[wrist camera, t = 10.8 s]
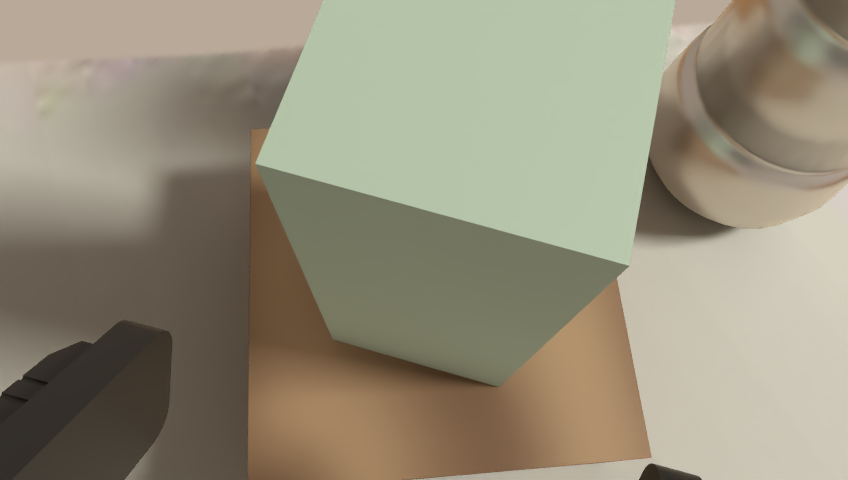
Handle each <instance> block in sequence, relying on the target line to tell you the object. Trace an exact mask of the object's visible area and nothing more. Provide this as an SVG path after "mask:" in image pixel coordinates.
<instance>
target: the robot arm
mask: <svg viewBox="0 0 848 480" xmlns="http://www.w3.org/2000/svg"><path fill="white" fill-rule="evenodd" d="M171 355H172V337H171V334H170V333H169V332H168V331H164V330H161V329H157V328H153V327H149V326H146V325H142V324H138V323H135V322H131V321H127V320H123V321H120V322H119V323H117V324H116V325H115V326H114V327H112V328H111V329H110V330H109V331H108V332H107V333H105V334H104V335H103V336H102V337H101V338H100V339H99V340H97V341H96V342H95V343H94V344H91V343H87V342H84V341H81V342H78V343H76V344H74V345H71V346H69V347H67V348H64V349H62V350H59V351H57V352H55V353H52V354H50V355H48V356H47V357H46V358H44V359H43V360H42V361H41V362H39V363H38V364H37V365H36V366H34V367H33V368H32V369H31V370H29V371H28V372H27V373H26V374H24V375H23V378H22V380H17V381H16V382H15V383H13V384H12V385H11V386H10V387H8V388H7V389H6V390H5V391H3V392H2V395H1V397H0V480H124V479H125V478H126V477H127V476H128V474H129V473H130V472H131V471H132V469H133V468H134V467H135V466H136V464H137V463H138V462H139V460H140V459H141V458H142V457H143V455H144V454H145V453H146V452H147V450H148V449H149V448H150V447H151V445H152V444H153V443H154V441H155V440H156V438H157V437H158V435H159V433H160V431H161V429H162V427H163V424H164V422H165V419H166V416H167V412H168V407H169V394H170V375H171ZM639 480H702V479H701V478H700V477H699V476H696V475H693V474H689V473H685V472H682V471H678V470H674V469H670V468H667V467H663V466H659V465H656V464H649V465H647V466H646V468H645V469H644V471H643V473H642V475H641V477H640V479H639Z"/></svg>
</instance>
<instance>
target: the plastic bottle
mask: <svg viewBox="0 0 848 480" xmlns="http://www.w3.org/2000/svg"><path fill="white" fill-rule="evenodd" d="M649 157H650V159H651V162H652V164H653V167H654V169H655V171H656V172H657V174H658V176H659V177H660V179H661V180H662V182H663V184H664V185H665V187H666V188H667V189H668V190H669V191H670V192H671V194H672V195H673V196H674V197H675V198H676V199H677V200H678V201H680V202H681V203H682V204H683V205H685V206H686V207H687V208H689V209H690V210H692V211H694V212H696V213H697V214H699V215H701V216H703V217H705V218H707V219H710V220H713V221H715V222H718V223H721V224H723V225H727V226H732V227H738V228H744V229H761V228H766V227H771V226H776V225H779V224H782V223H784V222H787V221H790V220H792V219H795V218H798V217H800V216H803V215H805V214H807V213H810V212H812V211H814V210H816V209H819V208H820V207H822V206H823V205H824V204H825V203H827V202H828V201H829V200H830V199H832V198H833V197H834V196H835V195H836V194H837V193H838V192H839V191H840V190H841V189H842V188H843V187H844V186H845V185H846V184H847V183H848V0H733V1H732V2H731V3H730V4H729V6H728V7H727V8H726V9H725V10H724V12H723V13H722V14H721V15H720V16H719V17H718V19H717V20H716V21H715V22H714V23H713V24H712V25H711V26H709V27H708V28H707V29H706V30H704V31H703V32H702V33H701V34H700V35H699V36H698V37H696V38H695V39H694V40H693V41H692V42H691V44H690V45H689V46H688V47H687V48H686V49H685V50H684V51H683V52H682V53H681V54H680V55H679V56H678V58H677V59H676V60H675V61H674V62H673V63H672V64H671V65H670V66H669V67H668V68H667V69H666V71H665V72H664V74H663V76H662V81H661V87H660V93H659V98H658V104H657V110H656V116H655V121H654V127H653V133H652V139H651V144H650V150H649Z"/></svg>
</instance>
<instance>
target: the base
mask: <svg viewBox="0 0 848 480" xmlns="http://www.w3.org/2000/svg"><path fill="white" fill-rule="evenodd" d="M268 132H269V129H251V193H250V290H249V387H248V480H411V479H422V478H434V477H445V476H456V475H468V474H479V473H490V472H501V471H513V470H524V469H535V468H546V467H558V466H569V465H580V464H592V463H603V462H613V461H623V460H633V459H643V458H652V457H651V452H650V447H649V442H648V437H647V431H646V426H645V421H644V416H643V411H642V406H641V401H640V395H639V390H638V385H637V380H636V375H635V370H634V365H633V360H632V354H631V349H630V344H629V339H628V334H627V329H626V324H625V318H624V313H623V308H622V303H621V298H620V293H619V288H618V282H617V278H616V279H615V280H614V281H613V282H611V283H610V284H609V285H608V286H607V287H606V288H605V289H604V290H603V291H602V292H601V293H600V294H599V295H598V296H596V297H595V298H594V299H593V300H592V301H591V302H590V303H589V304H588V305H587V306H586V307H585V308H584V309H583V310H581V311H580V312H579V313H578V314H577V315H576V316H575V317H574V318H573V319H572V320H571V321H570V322H569V323H568V324H566V325H565V326H564V327H563V328H562V329H561V330H560V331H559V332H558V333H557V334H556V335H555V336H554V337H553V338H551V339H550V340H549V341H548V342H547V343H546V344H545V345H544V346H543V347H542V348H541V349H540V350H539V351H538V352H536V353H535V354H534V355H533V356H532V357H531V358H530V359H529V360H528V361H527V362H526V363H525V364H524V365H523V366H521V367H520V368H519V369H518V370H517V371H516V372H515V373H514V374H513V375H512V376H511V377H510V378H509V379H507V380H506V381H505V382H504V383H503V384H502V385H501V386H500V387H496V386H493V385H489V384H486V383H483V382H479V381H476V380H472V379H469V378H465V377H462V376H458V375H455V374H451V373H448V372H444V371H441V370H437V369H434V368H430V367H427V366H423V365H420V364H416V363H413V362H409V361H406V360H402V359H399V358H396V357H392V356H389V355H385V354H382V353H378V352H375V351H371V350H368V349H364V348H361V347H357V346H354V345H350V344H347V343H343V342H340V341H336V340H333V339H332V337H331V335H330V332H329V330H328V328H327V325H326V323H325V321H324V319H323V316H322V314H321V312H320V310H319V307H318V305H317V303H316V301H315V298H314V296H313V294H312V291H311V289H310V287H309V285H308V282H307V280H306V278H305V276H304V273H303V271H302V269H301V266H300V264H299V262H298V260H297V257H296V255H295V253H294V251H293V248H292V246H291V244H290V242H289V239H288V237H287V235H286V232H285V230H284V228H283V226H282V223H281V221H280V219H279V217H278V214H277V212H276V210H275V208H274V205H273V203H272V201H271V198H270V196H269V194H268V192H267V189H266V187H265V185H264V183H263V180H262V178H261V176H260V173H259V171H258V169H257V167H256V164H255V163H256V161H257V158H258V156H259V153H260V151H261V149H262V146H263V144H264V141H265V139H266V137H267V134H268Z"/></svg>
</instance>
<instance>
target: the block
mask: <svg viewBox="0 0 848 480" xmlns="http://www.w3.org/2000/svg"><path fill="white" fill-rule="evenodd" d="M675 1H676V0H323V3H322V5H321V8H320V10H319V12H318V15H317V17H316V20H315V22H314V25H313V27H312V29H311V32H310V34H309V36H308V39H307V41H306V43H305V46H304V48H303V51H302V53H301V55H300V58H299V60H298V63H297V65H296V67H295V70H294V72H293V75H292V77H291V79H290V82H289V84H288V86H287V89H286V91H285V94H284V96H283V98H282V101H281V103H280V106H279V108H278V110H277V113H276V115H275V118H274V120H273V122H272V125H271V127H270V129H269V132H268V134H267V137H266V139H265V141H264V144H263V146H262V149H261V151H260V153H259V156H258V158H257V161H256V163H255V164H256V167H257V169H258V171H259V173H260V176H261V178H262V180H263V183H264V185H265V187H266V189H267V192H268V194H269V196H270V198H271V201H272V203H273V205H274V208H275V210H276V212H277V214H278V217H279V219H280V221H281V223H282V226H283V228H284V230H285V232H286V235H287V237H288V239H289V242H290V244H291V246H292V248H293V251H294V253H295V255H296V257H297V260H298V262H299V264H300V266H301V269H302V271H303V273H304V276H305V278H306V280H307V282H308V285H309V287H310V289H311V291H312V294H313V296H314V298H315V301H316V303H317V305H318V307H319V310H320V312H321V314H322V316H323V319H324V321H325V323H326V325H327V328H328V330H329V332H330V335H331V337H332V339H333V340H336V341H340V342H343V343H347V344H350V345H354V346H357V347H361V348H364V349H368V350H371V351H375V352H378V353H382V354H385V355H389V356H392V357H396V358H399V359H402V360H406V361H409V362H413V363H416V364H420V365H423V366H427V367H430V368H434V369H437V370H441V371H444V372H448V373H451V374H455V375H458V376H462V377H465V378H469V379H472V380H476V381H479V382H483V383H486V384H489V385H493V386H496V387H500V386H501V385H502V384H503V383H504V382H505V381H506V380H507V379H509V378H510V377H511V376H512V375H513V374H514V373H515V372H516V371H517V370H518V369H519V368H520V367H521V366H523V365H524V364H525V363H526V362H527V361H528V360H529V359H530V358H531V357H532V356H533V355H534V354H535V353H536V352H538V351H539V350H540V349H541V348H542V347H543V346H544V345H545V344H546V343H547V342H548V341H549V340H550V339H551V338H553V337H554V336H555V335H556V334H557V333H558V332H559V331H560V330H561V329H562V328H563V327H564V326H565V325H566V324H568V323H569V322H570V321H571V320H572V319H573V318H574V317H575V316H576V315H577V314H578V313H579V312H580V311H581V310H583V309H584V308H585V307H586V306H587V305H588V304H589V303H590V302H591V301H592V300H593V299H594V298H595V297H596V296H598V295H599V294H600V293H601V292H602V291H603V290H604V289H605V288H606V287H607V286H608V285H609V284H610V283H611V282H613V281H614V280H615V279H616V278H617V277H618V276H619V275H620V274H621V273H622V272H623V271H624V270H625V269H626V268H628V267H629V265H630V260H631V254H632V248H633V242H634V237H635V231H636V225H637V219H638V214H639V208H640V202H641V196H642V191H643V185H644V179H645V173H646V167H647V162H648V156H649V150H650V144H651V139H652V133H653V127H654V121H655V116H656V110H657V104H658V98H659V93H660V87H661V81H662V75H663V70H664V64H665V58H666V52H667V47H668V41H669V35H670V29H671V24H672V18H673V12H674V6H675Z"/></svg>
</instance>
